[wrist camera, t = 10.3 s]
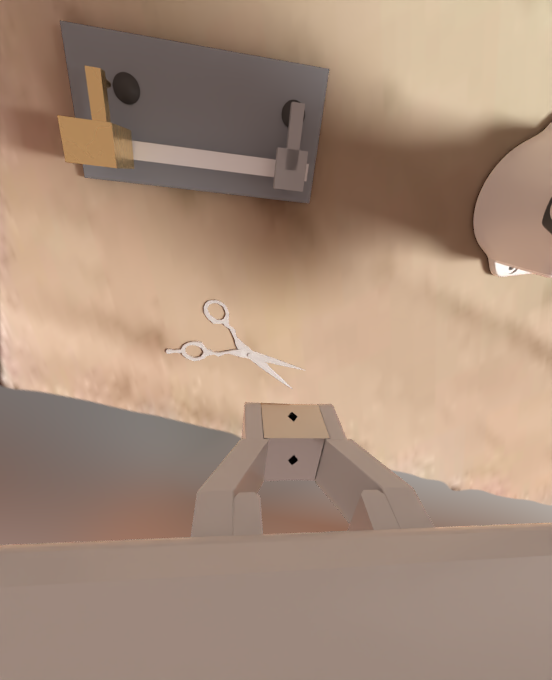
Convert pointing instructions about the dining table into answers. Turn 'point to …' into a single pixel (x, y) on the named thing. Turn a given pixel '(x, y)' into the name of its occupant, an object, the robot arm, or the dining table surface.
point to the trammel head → (96, 130)
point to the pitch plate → (203, 113)
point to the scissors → (240, 351)
